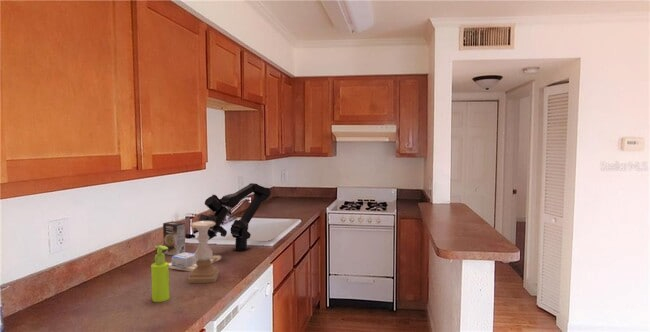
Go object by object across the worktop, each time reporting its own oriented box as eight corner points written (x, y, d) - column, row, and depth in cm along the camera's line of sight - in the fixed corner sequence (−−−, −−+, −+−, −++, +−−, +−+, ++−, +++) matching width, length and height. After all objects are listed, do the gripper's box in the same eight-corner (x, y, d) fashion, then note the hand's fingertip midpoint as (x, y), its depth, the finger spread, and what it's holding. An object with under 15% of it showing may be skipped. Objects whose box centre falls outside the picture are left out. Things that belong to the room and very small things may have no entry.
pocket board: (194, 255, 194) (194, 252, 194) (221, 258, 188) (221, 255, 188) (166, 267, 175) (165, 264, 175) (194, 271, 170) (194, 268, 170)
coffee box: (163, 254, 196) (162, 223, 195) (172, 250, 202) (171, 220, 201) (176, 256, 192) (176, 224, 191) (186, 252, 198) (185, 222, 197)
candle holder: (193, 274, 167) (192, 220, 165) (219, 273, 168) (218, 220, 166) (187, 283, 156) (186, 226, 154) (214, 282, 157) (213, 225, 155)
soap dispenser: (160, 304, 136) (158, 249, 135) (148, 299, 140) (147, 246, 139) (174, 298, 141) (173, 245, 140) (163, 294, 145) (161, 242, 144)
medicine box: (197, 253, 178) (185, 258, 169) (198, 262, 178) (185, 268, 170) (184, 251, 180) (170, 256, 172) (184, 260, 181) (171, 266, 172)
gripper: (196, 205, 192) (178, 232, 184) (221, 209, 181) (202, 237, 173) (210, 218, 199) (192, 244, 191) (234, 222, 188) (217, 250, 180)
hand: (200, 243), depth 184 cm, fingers closed
